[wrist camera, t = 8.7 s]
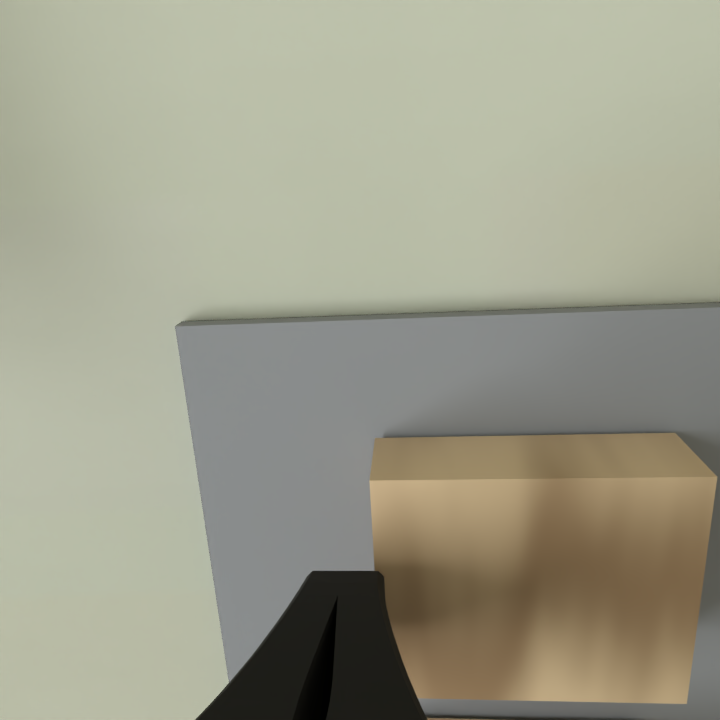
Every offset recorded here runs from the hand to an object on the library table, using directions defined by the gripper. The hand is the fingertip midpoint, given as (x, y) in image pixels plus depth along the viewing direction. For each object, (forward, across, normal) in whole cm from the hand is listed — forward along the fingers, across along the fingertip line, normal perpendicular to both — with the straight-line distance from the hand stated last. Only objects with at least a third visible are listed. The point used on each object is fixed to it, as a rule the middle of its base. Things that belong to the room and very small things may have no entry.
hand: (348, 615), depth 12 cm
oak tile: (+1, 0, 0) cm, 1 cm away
